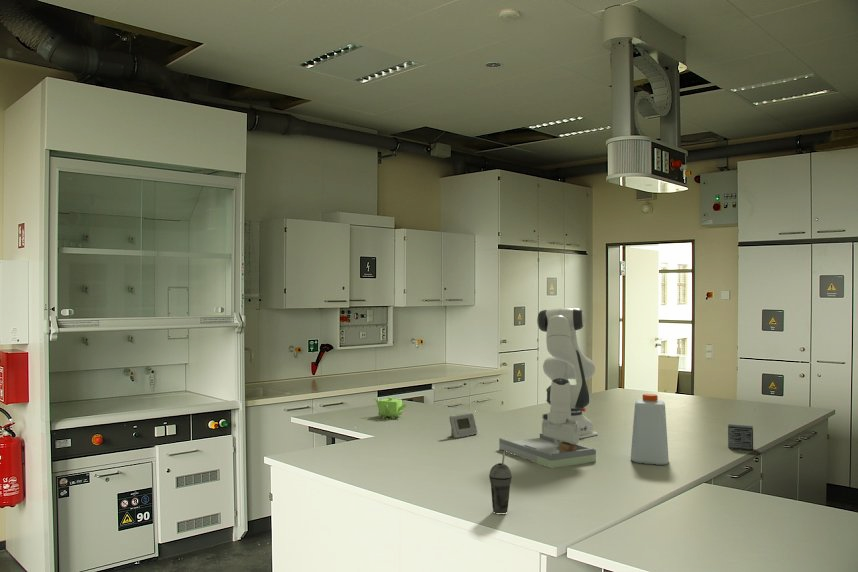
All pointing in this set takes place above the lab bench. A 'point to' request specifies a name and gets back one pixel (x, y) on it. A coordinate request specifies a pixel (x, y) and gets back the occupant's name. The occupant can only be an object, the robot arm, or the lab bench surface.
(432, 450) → the lab bench surface
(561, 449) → the walnut block
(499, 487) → the beverage cup
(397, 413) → the kettle
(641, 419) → the plastic bottle
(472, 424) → the digital clock
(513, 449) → the box
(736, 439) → the small box
